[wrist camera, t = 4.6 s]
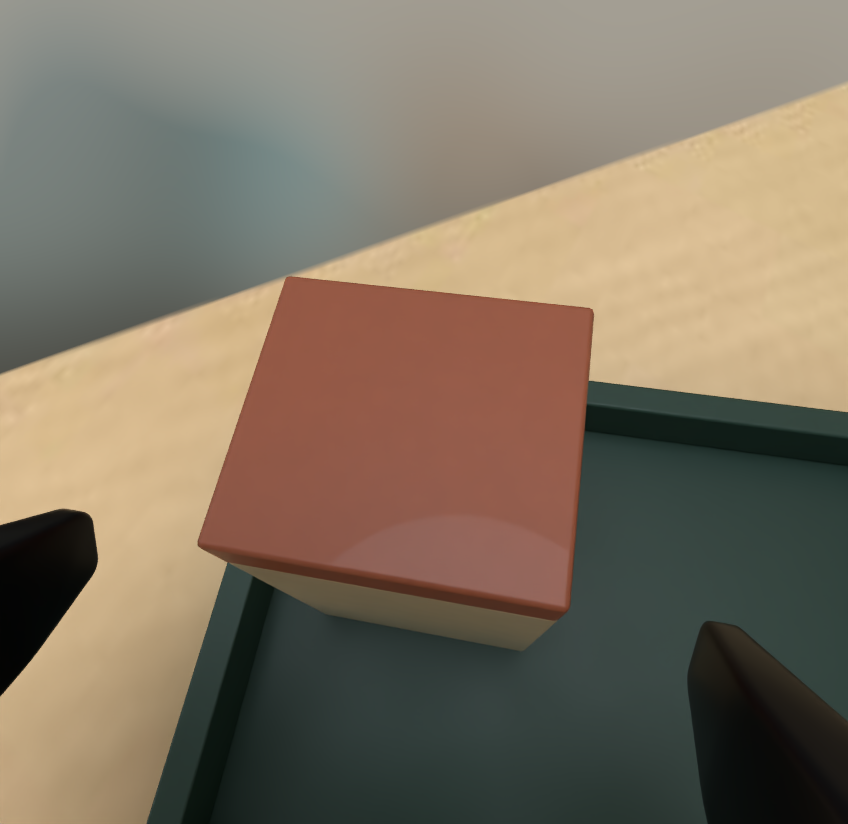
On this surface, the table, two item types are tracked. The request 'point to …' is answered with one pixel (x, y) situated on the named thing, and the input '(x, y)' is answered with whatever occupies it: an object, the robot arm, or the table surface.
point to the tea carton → (411, 459)
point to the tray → (540, 645)
